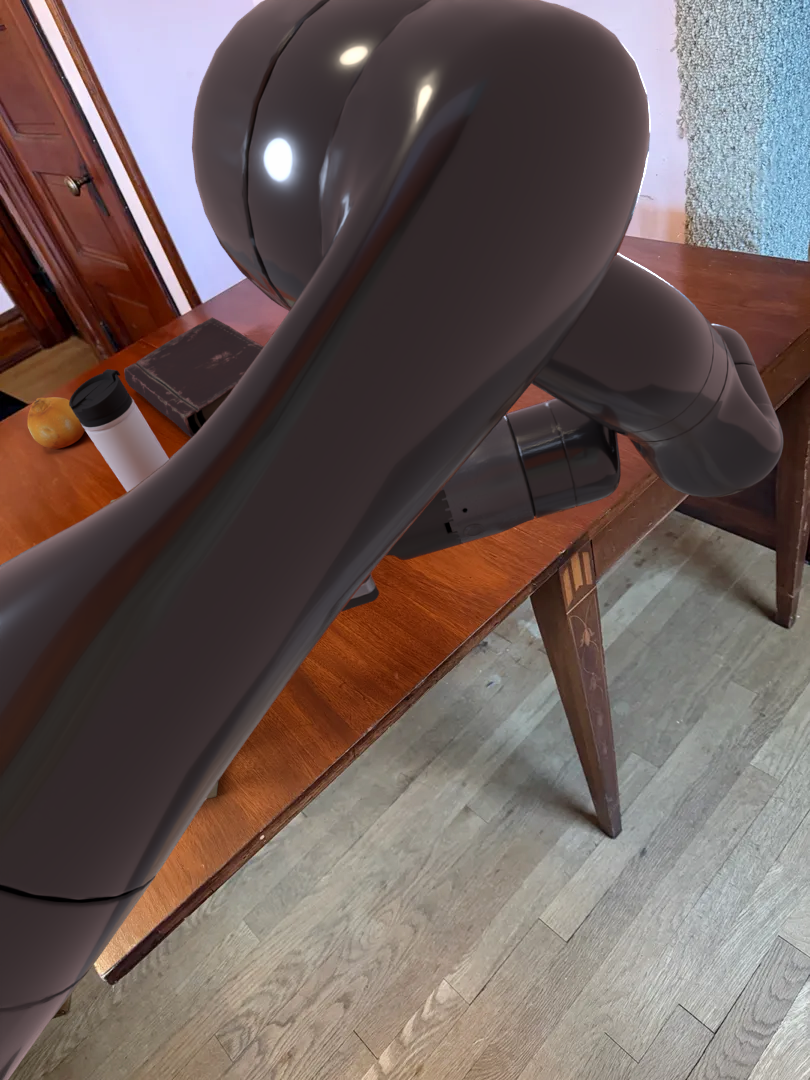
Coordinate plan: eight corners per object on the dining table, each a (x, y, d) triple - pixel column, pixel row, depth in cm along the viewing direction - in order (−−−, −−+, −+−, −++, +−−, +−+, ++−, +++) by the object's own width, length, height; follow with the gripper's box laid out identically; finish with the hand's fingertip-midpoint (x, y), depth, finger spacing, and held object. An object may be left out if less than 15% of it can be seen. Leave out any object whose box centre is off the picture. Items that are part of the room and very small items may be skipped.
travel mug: (209, 504, 95) (130, 370, 82) (175, 539, 92) (86, 405, 78) (177, 495, 98) (96, 366, 85) (142, 529, 95) (53, 399, 82)
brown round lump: (27, 455, 113) (26, 405, 109) (28, 435, 119) (27, 387, 116) (86, 457, 116) (87, 408, 113) (84, 438, 123) (84, 391, 119)
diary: (195, 446, 106) (179, 418, 103) (134, 395, 123) (118, 369, 120) (300, 380, 112) (288, 351, 109) (228, 340, 129) (216, 314, 126)
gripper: (423, 382, 51) (205, 451, 53) (453, 517, 41) (181, 596, 43) (450, 464, 56) (250, 525, 58) (483, 604, 46) (238, 671, 48)
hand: (221, 555), depth 50 cm, fingers open, 8 cm apart
